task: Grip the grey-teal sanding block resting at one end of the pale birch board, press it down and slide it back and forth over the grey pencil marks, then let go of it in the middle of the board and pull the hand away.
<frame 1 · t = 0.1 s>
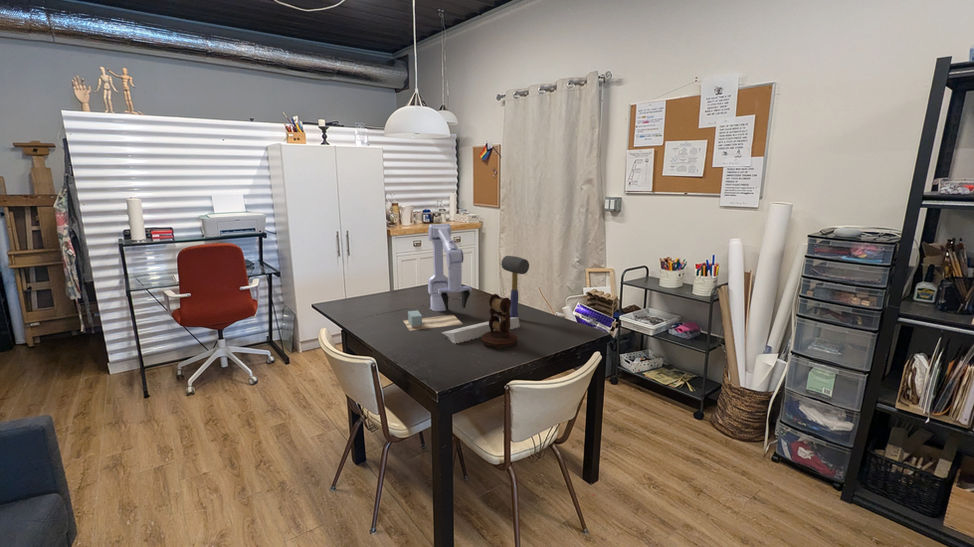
hand: (455, 308, 196), 10 cm above the table, tool pointing down, fingers open, 7 cm apart
sanding block: (415, 324, 202), point 1 cm above the table, touching birch board
birch board: (432, 325, 205), on the table
rubber mallet: (514, 319, 214), on the table
wooden spool holder: (499, 343, 185), on the table
decorative molding: (481, 333, 198), on the table
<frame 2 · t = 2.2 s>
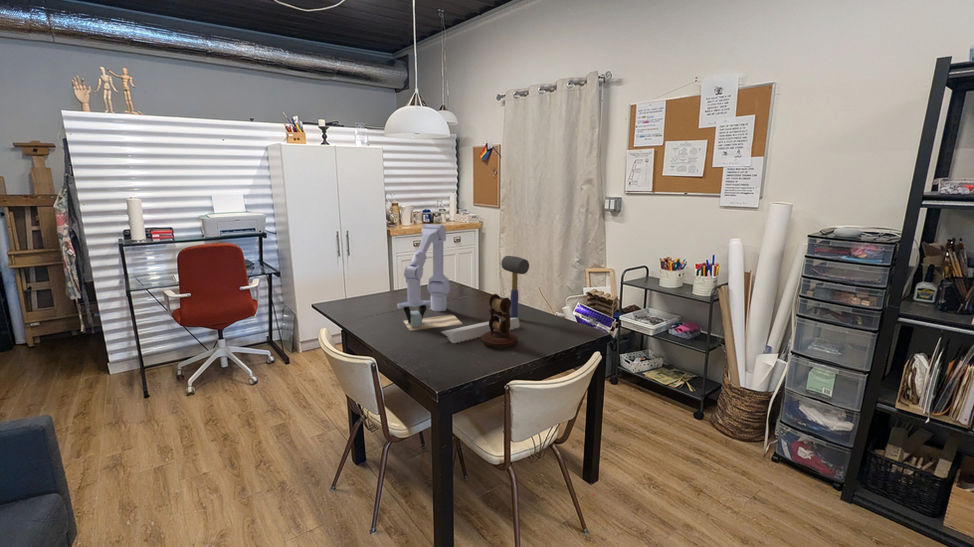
hand: (415, 322, 201), 2 cm above the table, tool pointing down, fingers closed on sanding block, 4 cm apart
sanding block: (415, 324, 202), point 1 cm above the table, touching birch board, gripper
everything else where it was.
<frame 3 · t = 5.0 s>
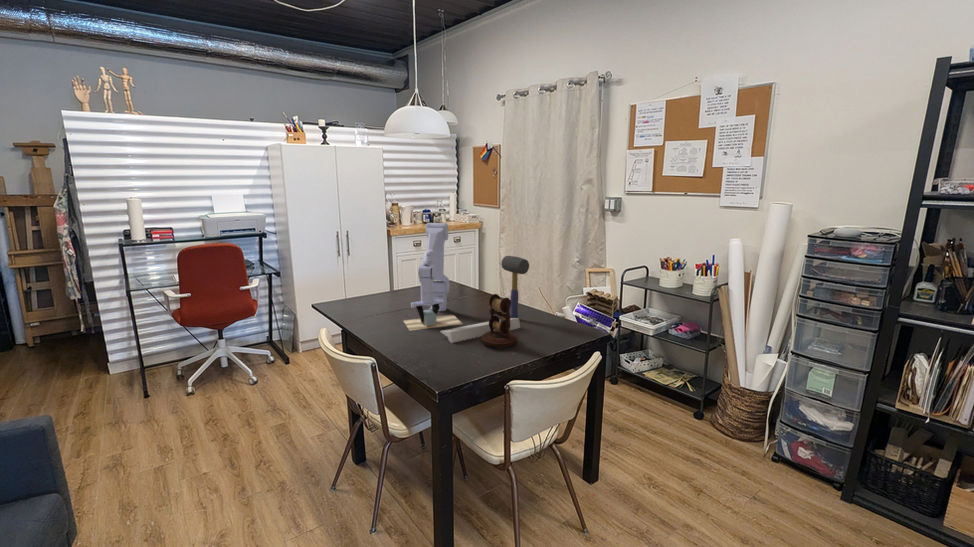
hand: (428, 321, 204), 2 cm above the table, tool pointing down, fingers closed on sanding block, 5 cm apart
sanding block: (428, 323, 203), point 2 cm above the table, touching gripper
everything else where it was.
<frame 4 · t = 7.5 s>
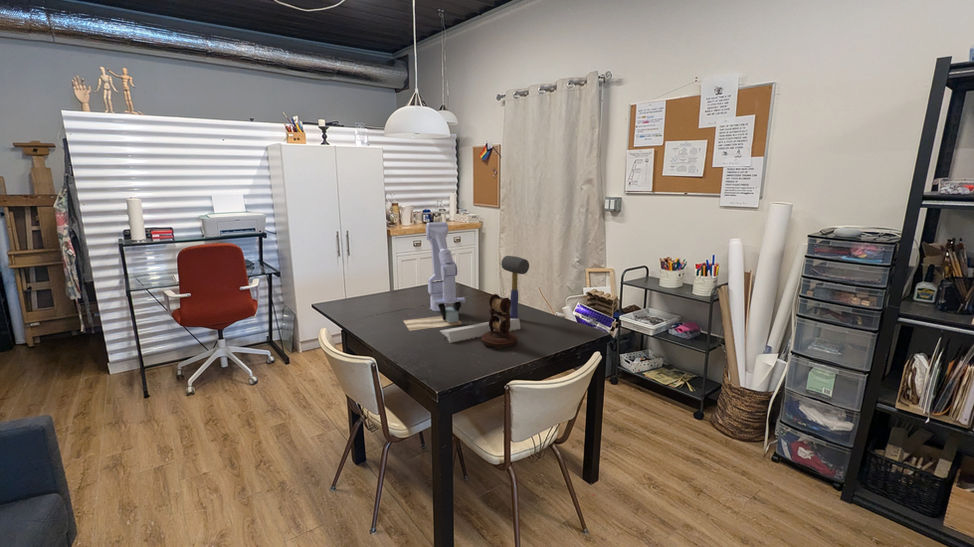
hand: (449, 318, 207), 2 cm above the table, tool pointing down, fingers closed on sanding block, 5 cm apart
sanding block: (450, 320, 207), point 2 cm above the table, touching gripper
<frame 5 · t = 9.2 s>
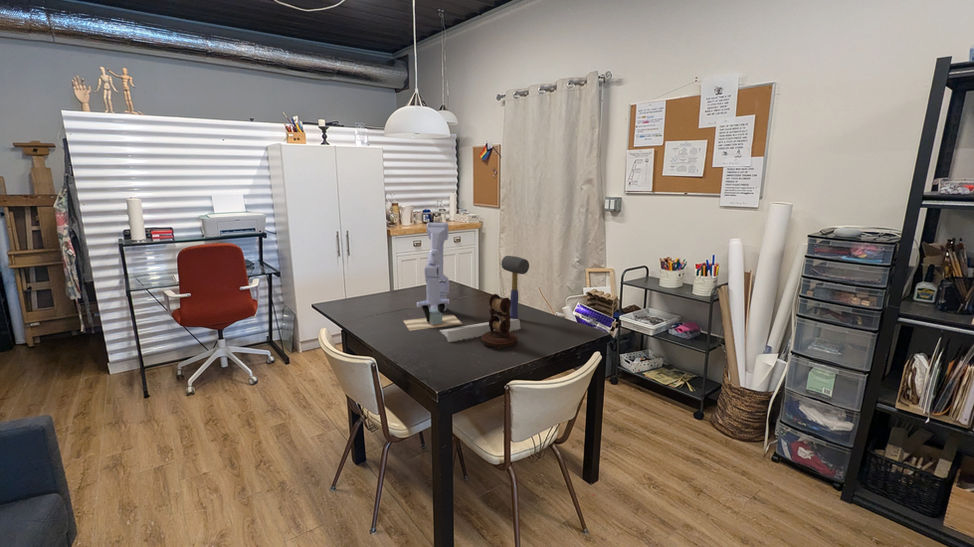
hand: (433, 320, 205), 2 cm above the table, tool pointing down, fingers closed on sanding block, 5 cm apart
sanding block: (434, 322, 204), point 2 cm above the table, touching gripper
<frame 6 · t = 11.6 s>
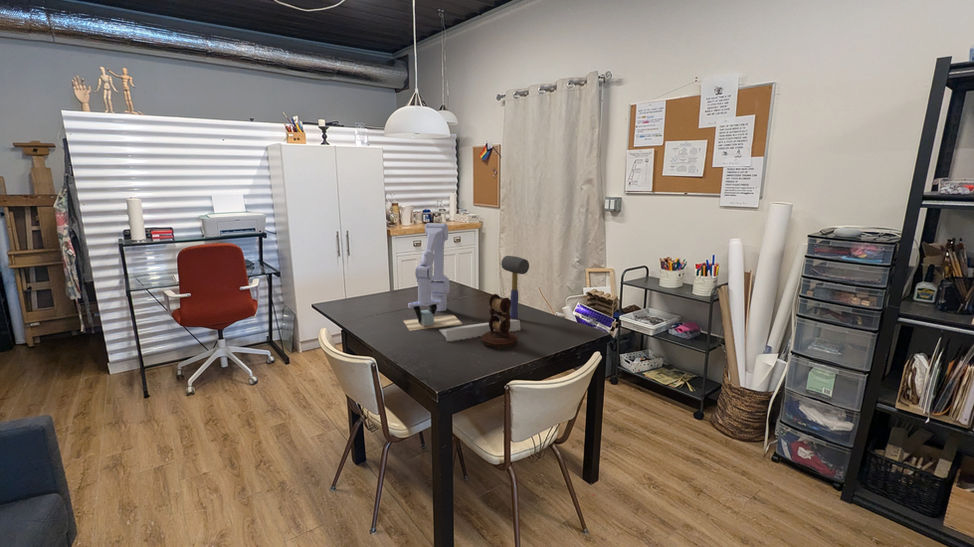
hand: (425, 321, 203), 2 cm above the table, tool pointing down, fingers closed on sanding block, 5 cm apart
sanding block: (426, 323, 203), point 2 cm above the table, touching gripper
when the fingers open (2 cm above the table, at t = 13.7 s): sanding block stays where it is, resting on birch board.
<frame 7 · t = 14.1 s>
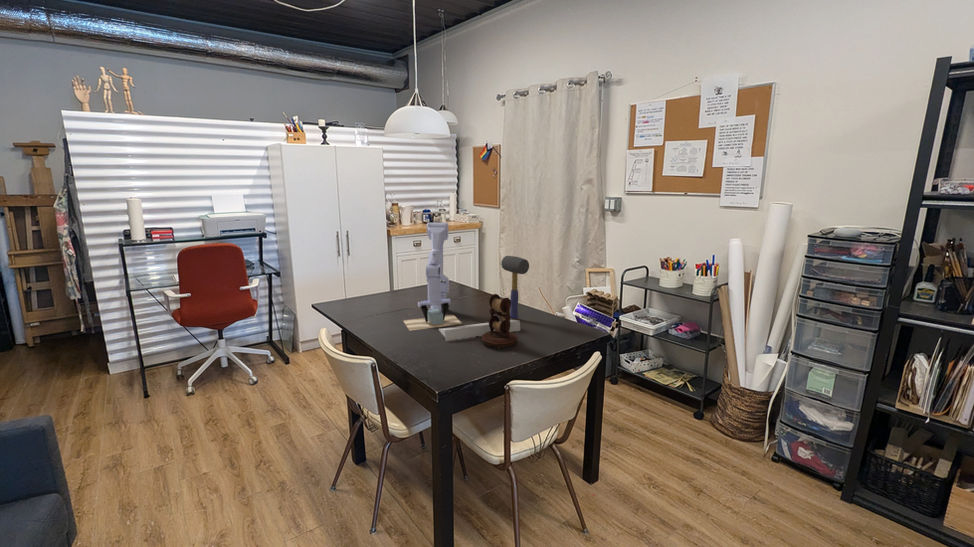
hand: (434, 320, 205), 2 cm above the table, tool pointing down, fingers open, 7 cm apart
sanding block: (435, 322, 204), point 2 cm above the table, touching birch board
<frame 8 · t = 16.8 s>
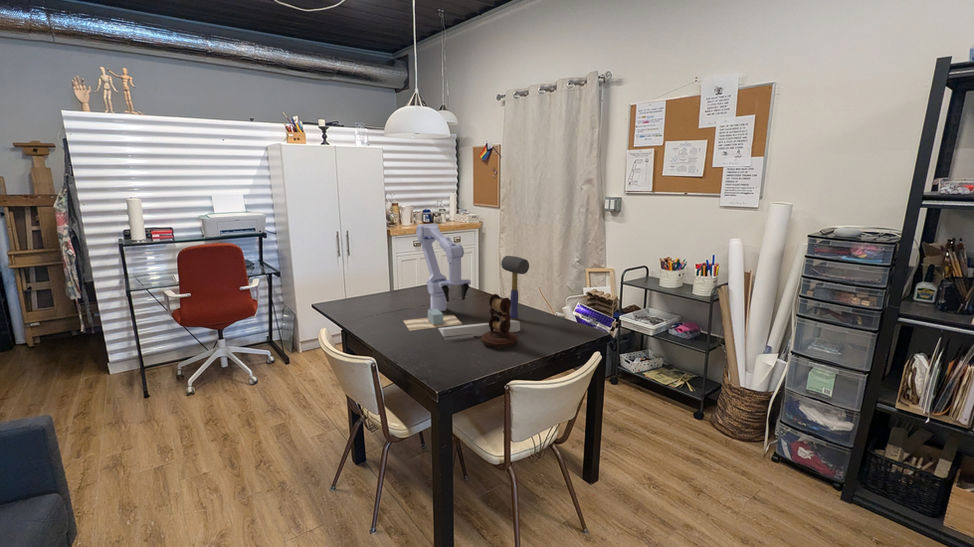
hand: (455, 300, 211), 9 cm above the table, tool pointing down, fingers open, 7 cm apart
at the end: sanding block inside the target area (0.8 cm from its centre), point 1.5 cm above the table; sanding block touching birch board; sanding block tilted 0° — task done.
